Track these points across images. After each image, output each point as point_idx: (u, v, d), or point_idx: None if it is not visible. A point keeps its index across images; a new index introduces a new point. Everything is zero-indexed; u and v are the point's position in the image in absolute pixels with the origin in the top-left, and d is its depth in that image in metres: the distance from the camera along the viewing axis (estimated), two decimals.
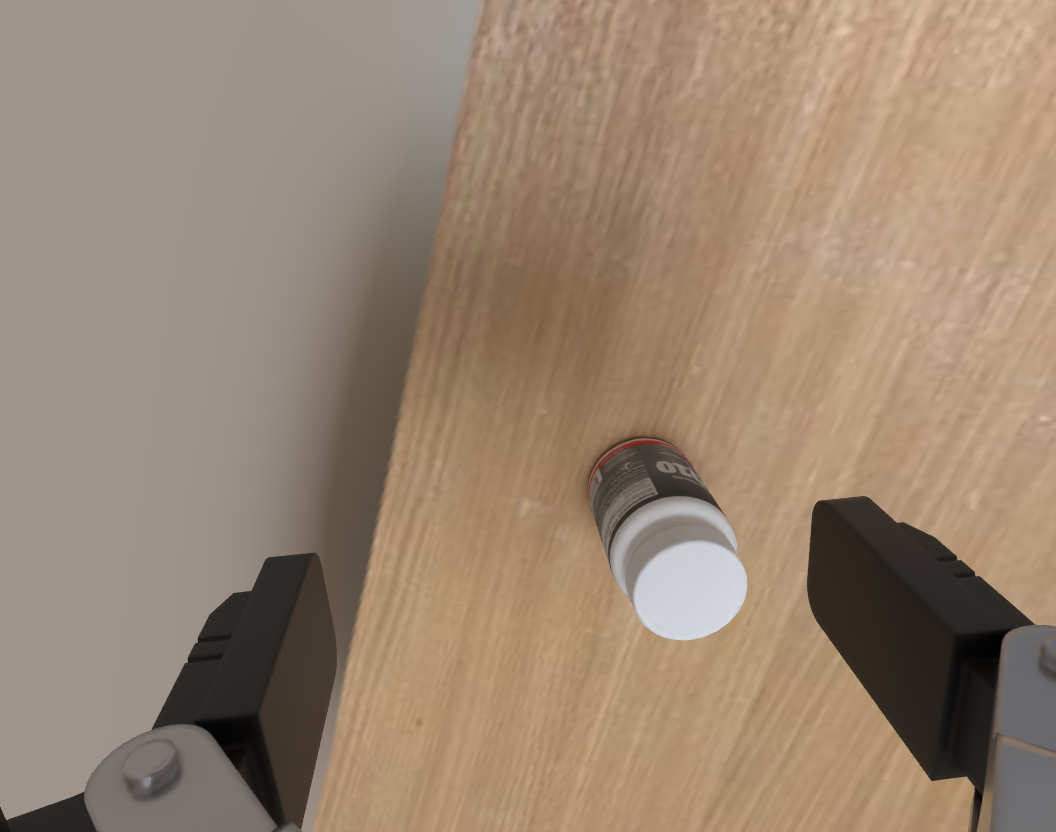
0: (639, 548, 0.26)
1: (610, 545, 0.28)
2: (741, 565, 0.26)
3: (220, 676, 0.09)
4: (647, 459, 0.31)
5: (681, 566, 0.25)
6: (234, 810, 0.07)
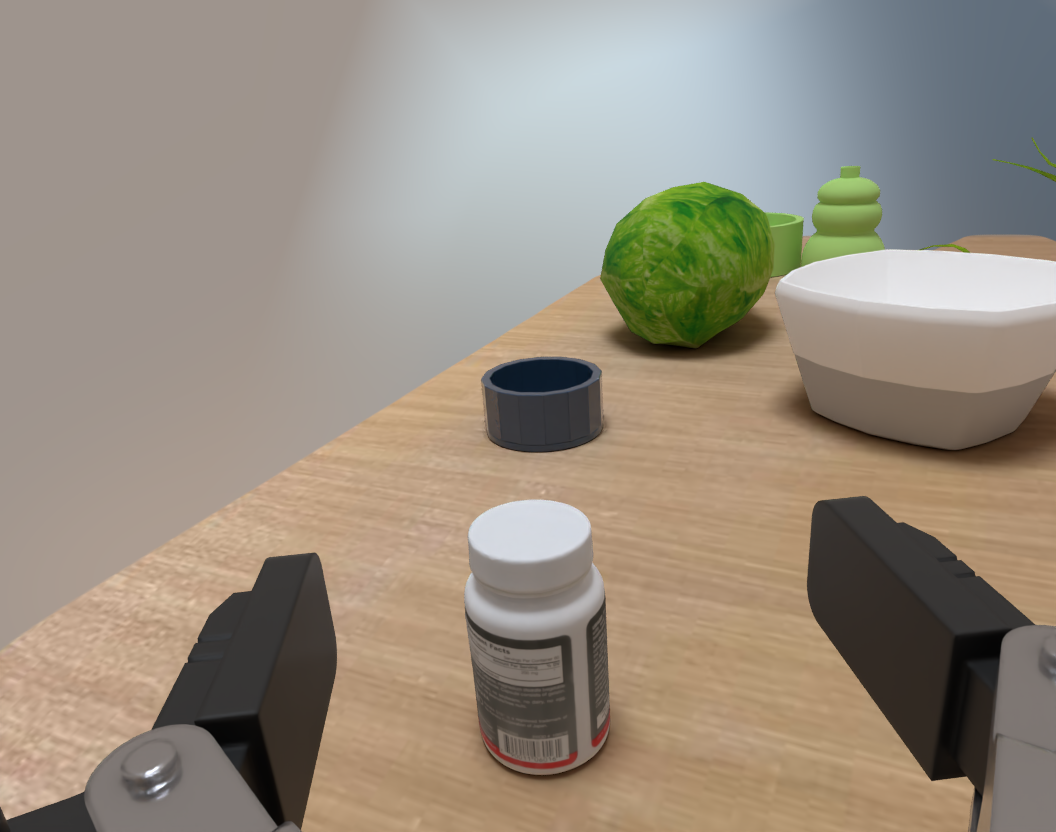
0: (485, 582, 0.24)
1: (512, 641, 0.23)
2: None
3: (220, 676, 0.09)
4: None
5: (494, 533, 0.24)
6: (234, 810, 0.07)
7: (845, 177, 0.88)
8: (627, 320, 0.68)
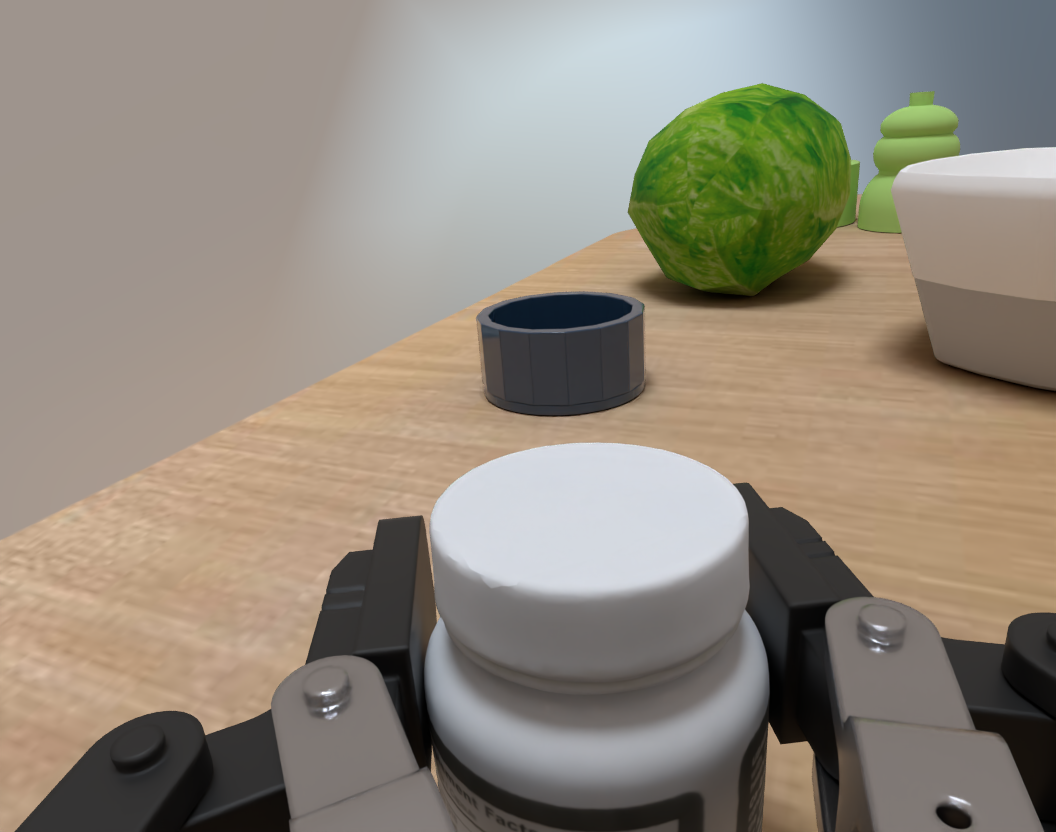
0: (472, 646, 0.09)
1: (547, 810, 0.09)
2: (528, 449, 0.11)
3: (365, 618, 0.10)
4: None
5: (495, 515, 0.09)
6: (386, 745, 0.08)
7: (915, 104, 0.73)
8: (664, 260, 0.54)
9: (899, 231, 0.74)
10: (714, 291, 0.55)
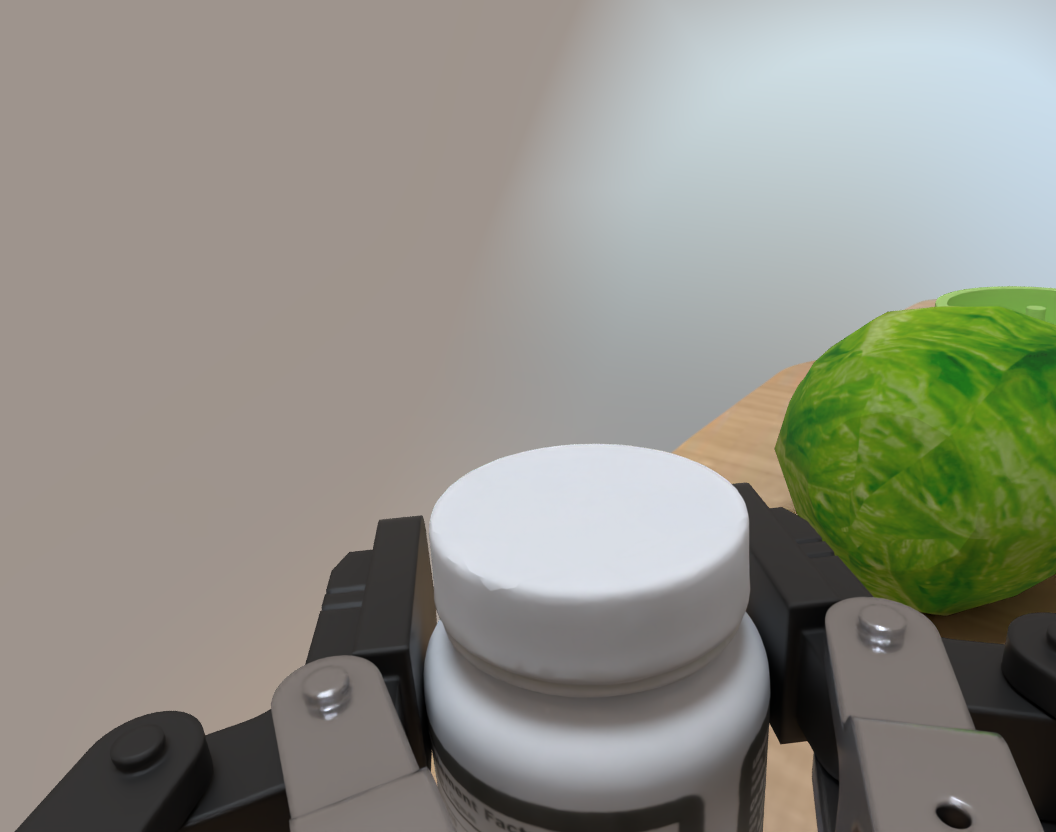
0: (472, 648, 0.09)
1: (547, 813, 0.09)
2: None
3: (364, 618, 0.10)
4: None
5: (496, 518, 0.09)
6: (386, 745, 0.08)
7: None
8: None
9: None
10: None
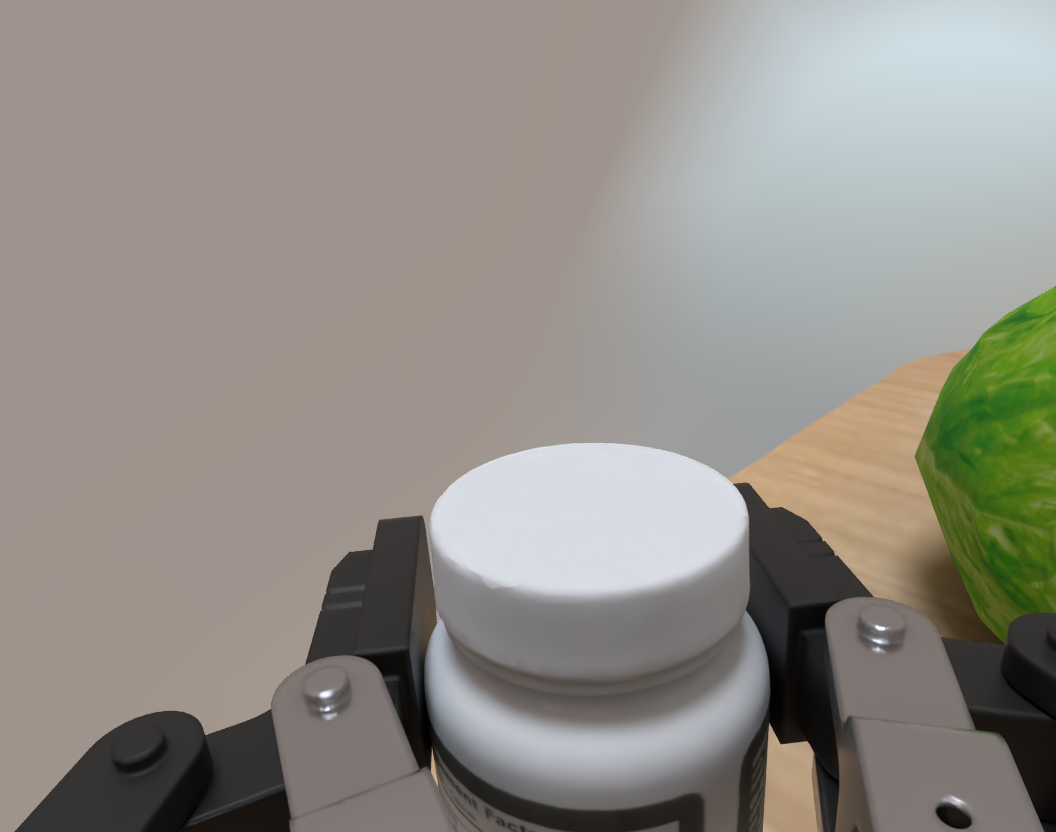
0: (472, 647, 0.09)
1: (547, 811, 0.09)
2: None
3: (364, 618, 0.10)
4: None
5: (495, 516, 0.09)
6: (386, 745, 0.08)
7: None
8: (976, 601, 0.26)
9: None
10: None
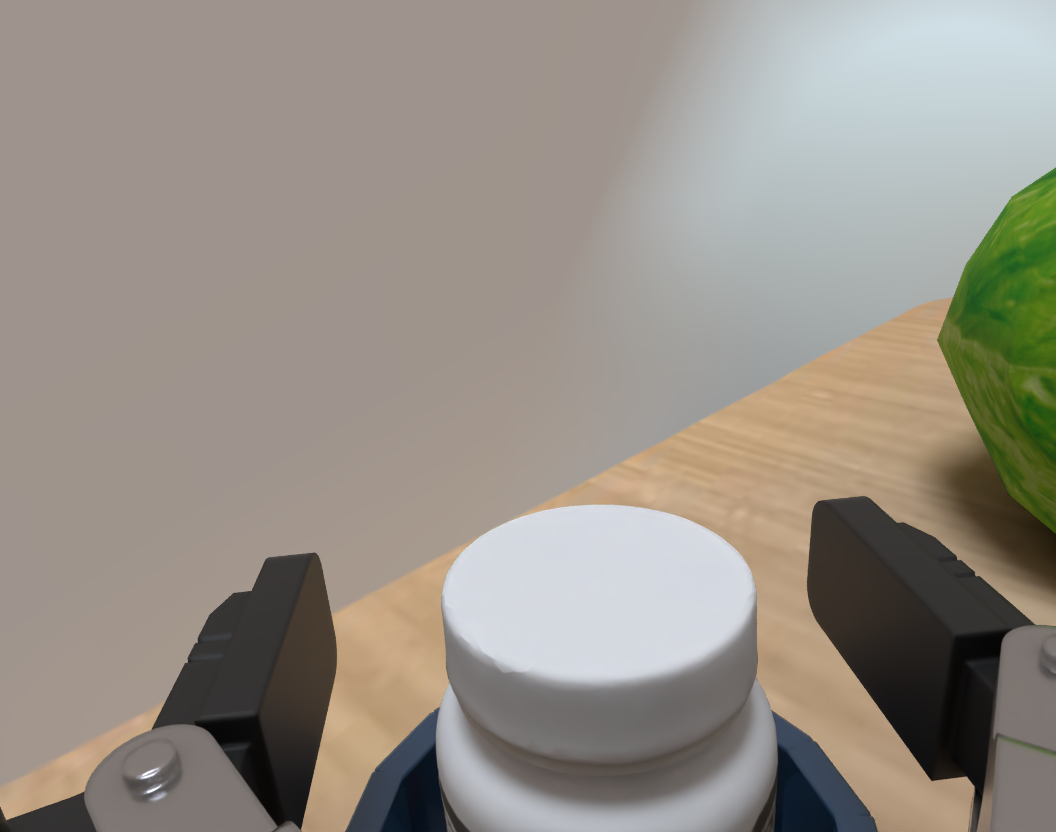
0: (485, 724, 0.09)
1: None
2: None
3: (220, 676, 0.09)
4: None
5: (507, 589, 0.10)
6: (234, 810, 0.07)
7: None
8: (1008, 477, 0.24)
9: None
10: None
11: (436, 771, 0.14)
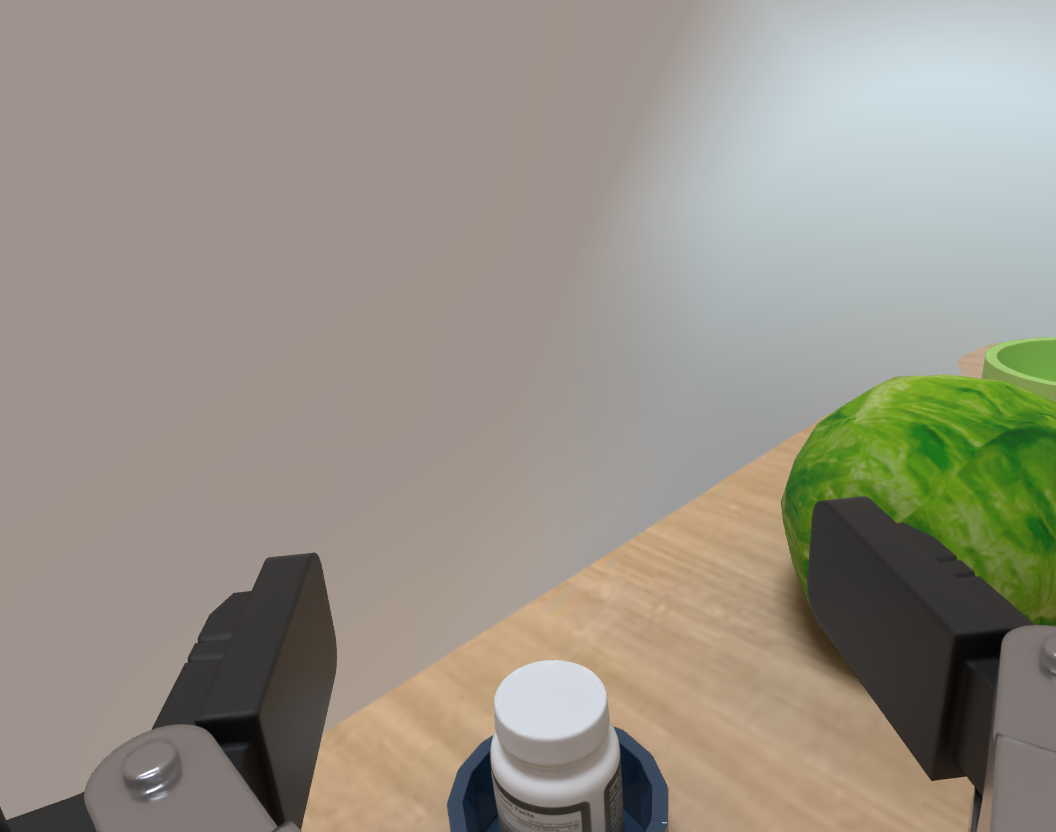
0: (510, 752, 0.26)
1: (536, 807, 0.26)
2: None
3: (220, 675, 0.09)
4: None
5: (517, 702, 0.26)
6: (234, 810, 0.07)
7: None
8: (807, 597, 0.40)
9: None
10: None
11: (485, 769, 0.31)
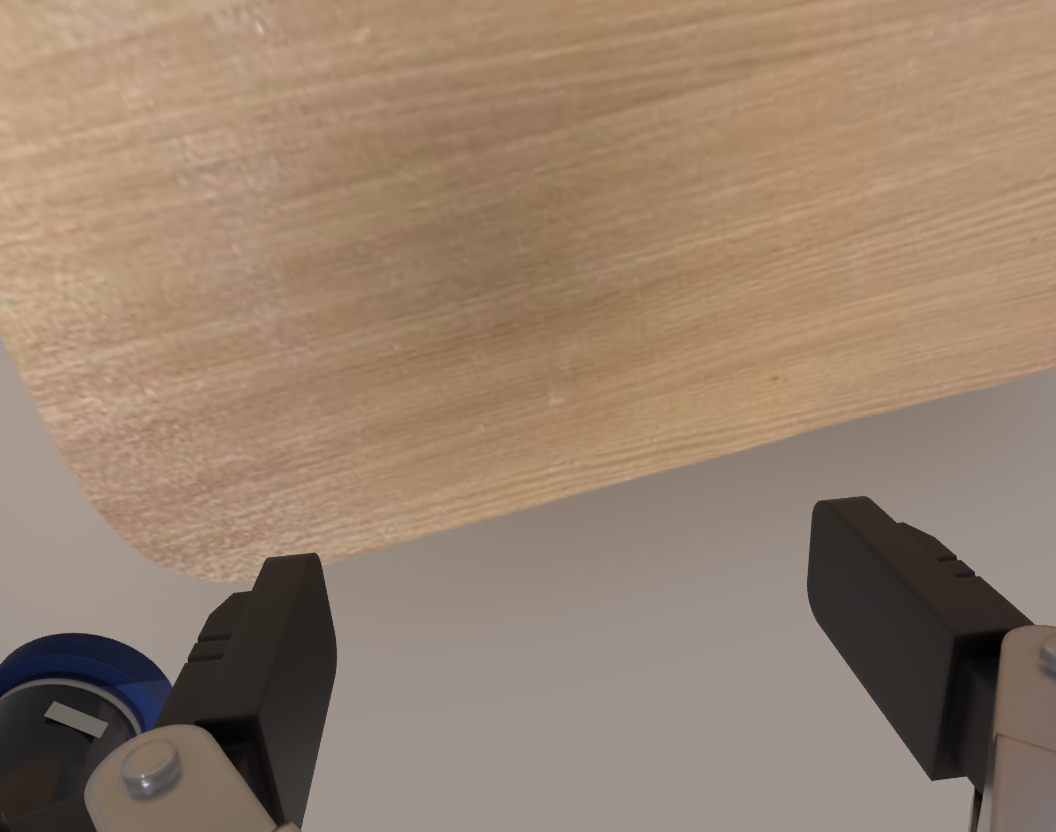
0: None
1: None
2: None
3: (220, 676, 0.09)
4: None
5: None
6: (234, 810, 0.07)
7: None
8: None
9: None
10: None
11: None
